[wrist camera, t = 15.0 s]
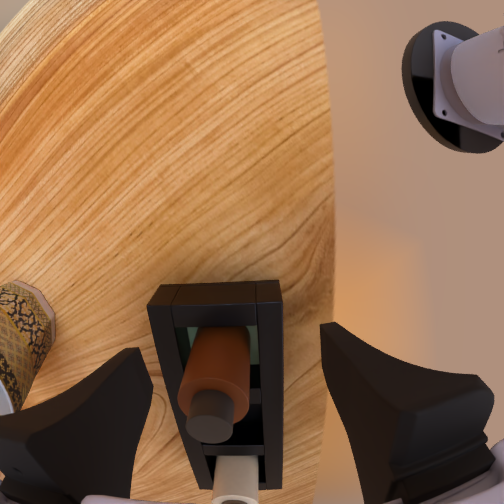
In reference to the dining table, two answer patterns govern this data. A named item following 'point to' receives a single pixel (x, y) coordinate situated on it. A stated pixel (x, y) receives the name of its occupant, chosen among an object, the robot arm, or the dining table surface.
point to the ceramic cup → (22, 341)
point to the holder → (261, 367)
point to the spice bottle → (216, 382)
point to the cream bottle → (236, 480)
